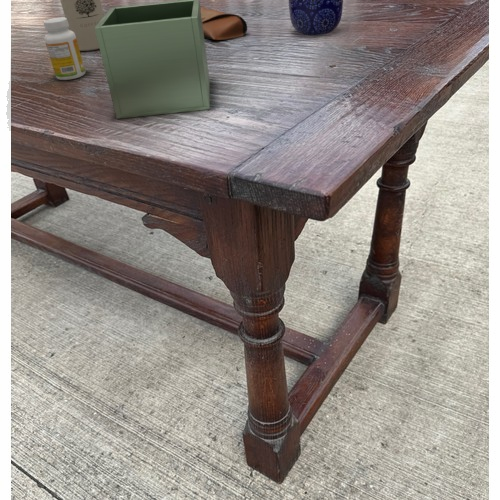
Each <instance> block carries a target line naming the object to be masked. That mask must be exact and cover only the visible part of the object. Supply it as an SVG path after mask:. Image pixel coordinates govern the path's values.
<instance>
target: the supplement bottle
mask: <svg viewBox="0 0 500 500" xmlns="http://www.w3.org/2000/svg"><path fill="white" fill-rule="evenodd" d="M43 26H44V29H45V31H47V33H46V34H45V35H44V37H43V39H44V43H45V46H46V49H47V53H48V55H49V60H50V62H51V63H50V64H51V66H52V69H53V72H54V75H55V78H56V79H57V80H60V81H70V80H71V81H72V80H75V79H78V78H81V77H83V76H84V75H85V74H86V69H85V68H86V67H85V65H84V62H83V61H84V60H83V58H82V54H81V51H80V50H79V46H78V42H77V39H76V36H75V33H74V32H73V31H71V30H69V29H68V27H69V24H68V21H67V18H65V16H61V17H60V16H59V17H53V18H49V19H46V20H43Z"/></svg>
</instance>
